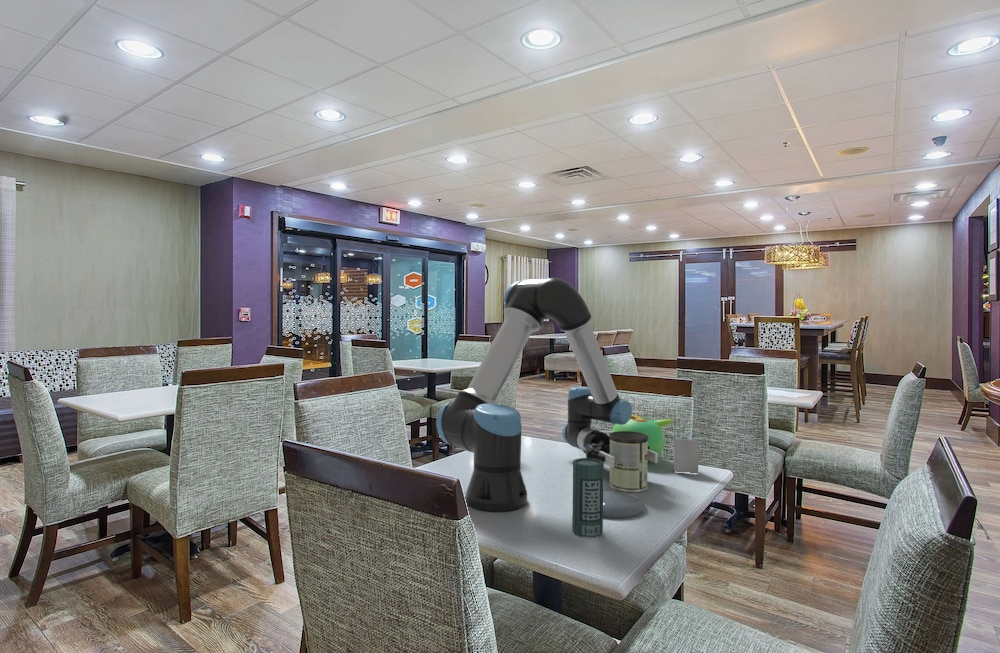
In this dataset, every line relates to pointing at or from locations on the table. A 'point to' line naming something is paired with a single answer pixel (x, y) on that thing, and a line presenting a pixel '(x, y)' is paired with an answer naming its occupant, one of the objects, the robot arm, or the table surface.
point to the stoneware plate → (621, 505)
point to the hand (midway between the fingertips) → (635, 460)
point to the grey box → (685, 455)
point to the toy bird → (646, 430)
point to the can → (587, 497)
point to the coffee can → (629, 461)
